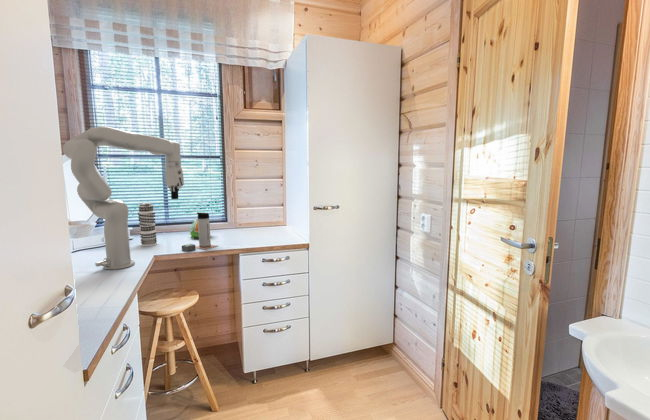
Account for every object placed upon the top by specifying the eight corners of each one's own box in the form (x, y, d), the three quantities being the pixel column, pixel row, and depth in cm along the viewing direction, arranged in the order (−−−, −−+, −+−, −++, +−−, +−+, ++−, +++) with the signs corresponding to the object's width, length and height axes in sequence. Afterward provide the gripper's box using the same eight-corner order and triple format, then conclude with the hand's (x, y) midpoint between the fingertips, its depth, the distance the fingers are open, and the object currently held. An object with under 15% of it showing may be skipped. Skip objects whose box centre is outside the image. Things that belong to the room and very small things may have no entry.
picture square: (204, 249, 187) (204, 249, 187) (192, 247, 192) (192, 247, 192) (218, 246, 196) (218, 245, 196) (206, 244, 201) (206, 243, 201)
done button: (188, 249, 184) (187, 245, 184) (183, 248, 186) (183, 245, 185) (193, 248, 187) (193, 244, 187) (189, 247, 189) (189, 243, 188)
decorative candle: (150, 246, 196) (147, 204, 192) (136, 246, 197) (133, 204, 194) (161, 243, 204) (158, 202, 201) (147, 242, 206) (144, 202, 203)
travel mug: (198, 245, 196) (196, 212, 193) (210, 244, 198) (208, 211, 195) (198, 248, 190) (196, 213, 187) (211, 247, 192) (209, 212, 190)
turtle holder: (208, 233, 233) (207, 216, 231) (211, 238, 216) (210, 220, 215) (189, 235, 227) (187, 217, 226) (191, 240, 211) (190, 221, 209)
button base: (188, 252, 183) (187, 246, 183) (182, 250, 186) (181, 245, 185) (195, 250, 187) (195, 244, 187) (189, 248, 190) (189, 243, 189)
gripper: (188, 165, 179) (189, 199, 181) (171, 165, 187) (172, 198, 189) (175, 164, 173) (177, 200, 175) (158, 165, 181) (160, 198, 183)
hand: (174, 199), depth 182 cm, fingers closed
